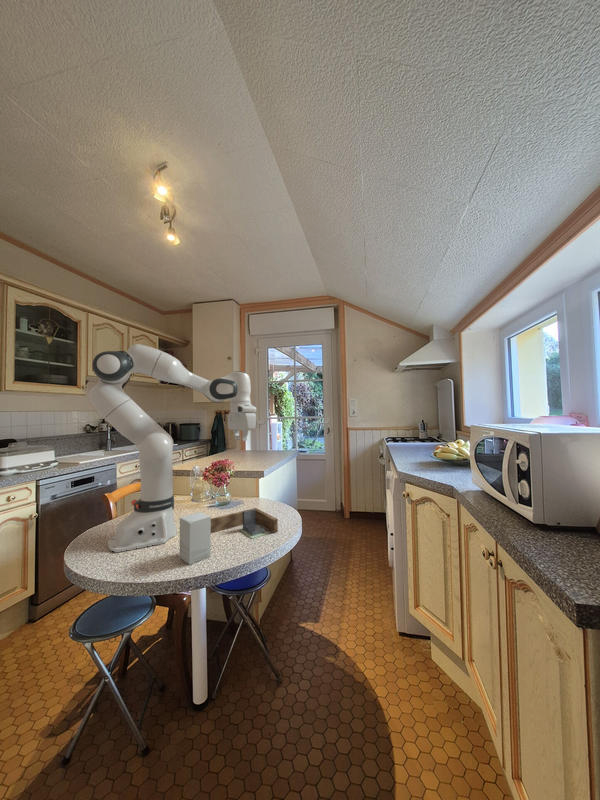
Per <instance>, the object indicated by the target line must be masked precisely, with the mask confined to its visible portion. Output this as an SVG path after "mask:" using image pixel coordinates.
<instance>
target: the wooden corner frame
mask: <svg viewBox="0 0 600 800" xmlns="http://www.w3.org/2000/svg"><path fill="white" fill-rule="evenodd" d="M250 509H251V508H250ZM250 509H248V510H250ZM252 509H256V524H257V525H259V524H260V525H259V526H261V525H262V526H261V527H262V528H264V527H265V528H264V529H266V528H267V530H268V531H270V532H271V531H272V532H271V533H273V534H275V533H276V532H277V533H279V529H278V527H279V526H278V525H279V524H278V520H279V519H278V518H276V517H274V516H273V515H271V514H268V513H267V512H265V511H263V510H261V509H259V508H257V507H255V508H252ZM246 510H247V509H246ZM246 510H242V511H238V512H233V513H229V514H224V515H220V516H217V517H216V516H215V517H213V518H212V517H211V534H213V533H217V532H218V533H219V532H221V531H224V530H228V529H232V528H235V527H240V526H243V511H246ZM239 525H240V526H239Z"/></svg>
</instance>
